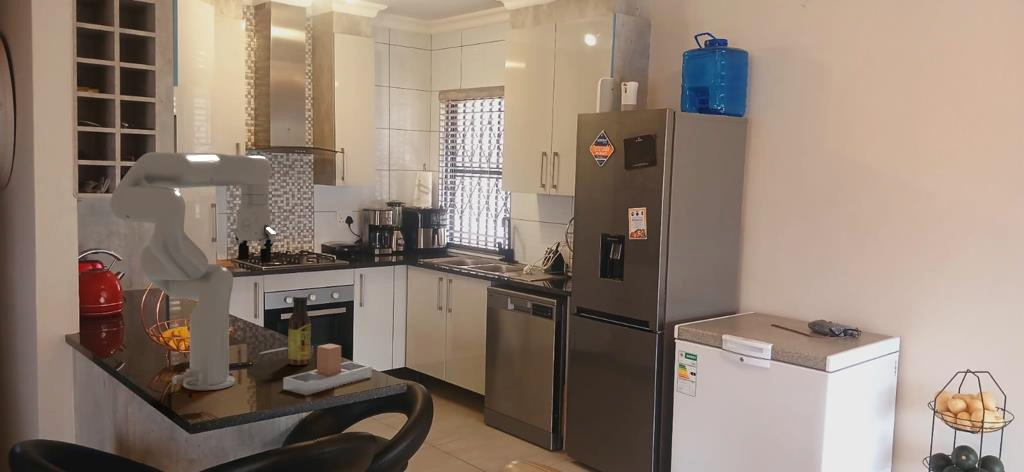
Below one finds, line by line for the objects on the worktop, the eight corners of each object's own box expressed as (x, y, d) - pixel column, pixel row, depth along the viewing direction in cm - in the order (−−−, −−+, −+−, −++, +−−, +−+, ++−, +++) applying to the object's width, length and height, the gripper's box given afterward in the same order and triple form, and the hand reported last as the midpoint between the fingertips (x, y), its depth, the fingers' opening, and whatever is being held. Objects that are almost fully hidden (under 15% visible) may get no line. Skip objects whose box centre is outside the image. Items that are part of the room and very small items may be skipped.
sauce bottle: (303, 367, 227) (304, 298, 226) (283, 365, 229) (284, 297, 227) (314, 362, 234) (314, 295, 232) (294, 360, 235) (295, 294, 234)
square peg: (328, 386, 209) (328, 348, 208) (316, 383, 211) (317, 346, 210) (340, 382, 212) (341, 346, 211) (329, 379, 215) (329, 343, 214)
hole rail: (306, 395, 200) (306, 383, 199) (283, 389, 204) (283, 377, 204) (371, 376, 219) (371, 366, 219) (349, 371, 224) (349, 361, 224)
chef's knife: (247, 355, 242) (253, 356, 240) (247, 351, 242) (253, 352, 240) (301, 346, 257) (307, 347, 255) (301, 342, 257) (307, 343, 255)
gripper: (224, 199, 225) (224, 259, 227) (263, 202, 216) (263, 264, 217) (246, 199, 231) (246, 257, 233) (285, 201, 222) (285, 262, 223)
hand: (254, 260), depth 225 cm, fingers open, 9 cm apart
